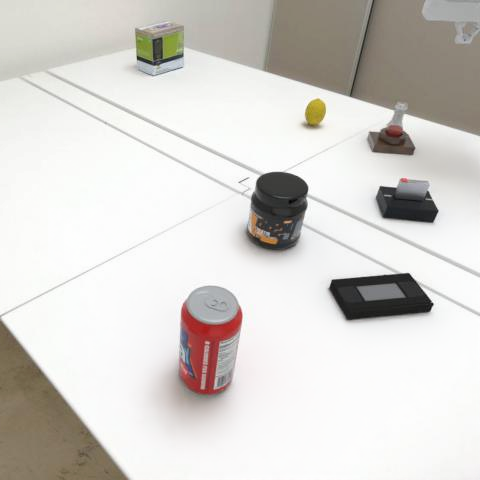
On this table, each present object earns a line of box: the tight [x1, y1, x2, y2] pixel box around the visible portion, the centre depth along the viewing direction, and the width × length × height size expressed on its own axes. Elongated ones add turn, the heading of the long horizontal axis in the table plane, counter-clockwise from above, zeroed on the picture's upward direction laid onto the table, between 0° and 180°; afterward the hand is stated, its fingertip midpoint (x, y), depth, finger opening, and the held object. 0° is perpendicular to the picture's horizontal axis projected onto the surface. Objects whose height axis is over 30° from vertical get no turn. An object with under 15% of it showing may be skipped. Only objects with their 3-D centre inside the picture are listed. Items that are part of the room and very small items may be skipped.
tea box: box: [134, 20, 185, 76], centre depth 165 cm, size 15×10×15 cm, turn 130°
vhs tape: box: [328, 272, 435, 321], centre depth 77 cm, size 8×14×2 cm, turn 97°
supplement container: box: [246, 171, 309, 250], centre depth 88 cm, size 10×10×12 cm
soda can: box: [178, 285, 244, 396], centre depth 62 cm, size 8×8×15 cm
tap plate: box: [375, 185, 440, 224], centre depth 98 cm, size 10×8×3 cm
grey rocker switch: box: [394, 177, 431, 201], centre depth 95 cm, size 6×2×4 cm, turn 80°
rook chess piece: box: [385, 101, 409, 129], centre depth 126 cm, size 4×4×8 cm
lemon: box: [304, 97, 327, 127], centre depth 129 cm, size 6×6×8 cm
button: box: [386, 125, 404, 137], centre depth 118 cm, size 4×4×2 cm
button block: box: [366, 127, 416, 156], centre depth 120 cm, size 10×8×4 cm
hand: (462, 43), depth 102 cm, fingers closed
